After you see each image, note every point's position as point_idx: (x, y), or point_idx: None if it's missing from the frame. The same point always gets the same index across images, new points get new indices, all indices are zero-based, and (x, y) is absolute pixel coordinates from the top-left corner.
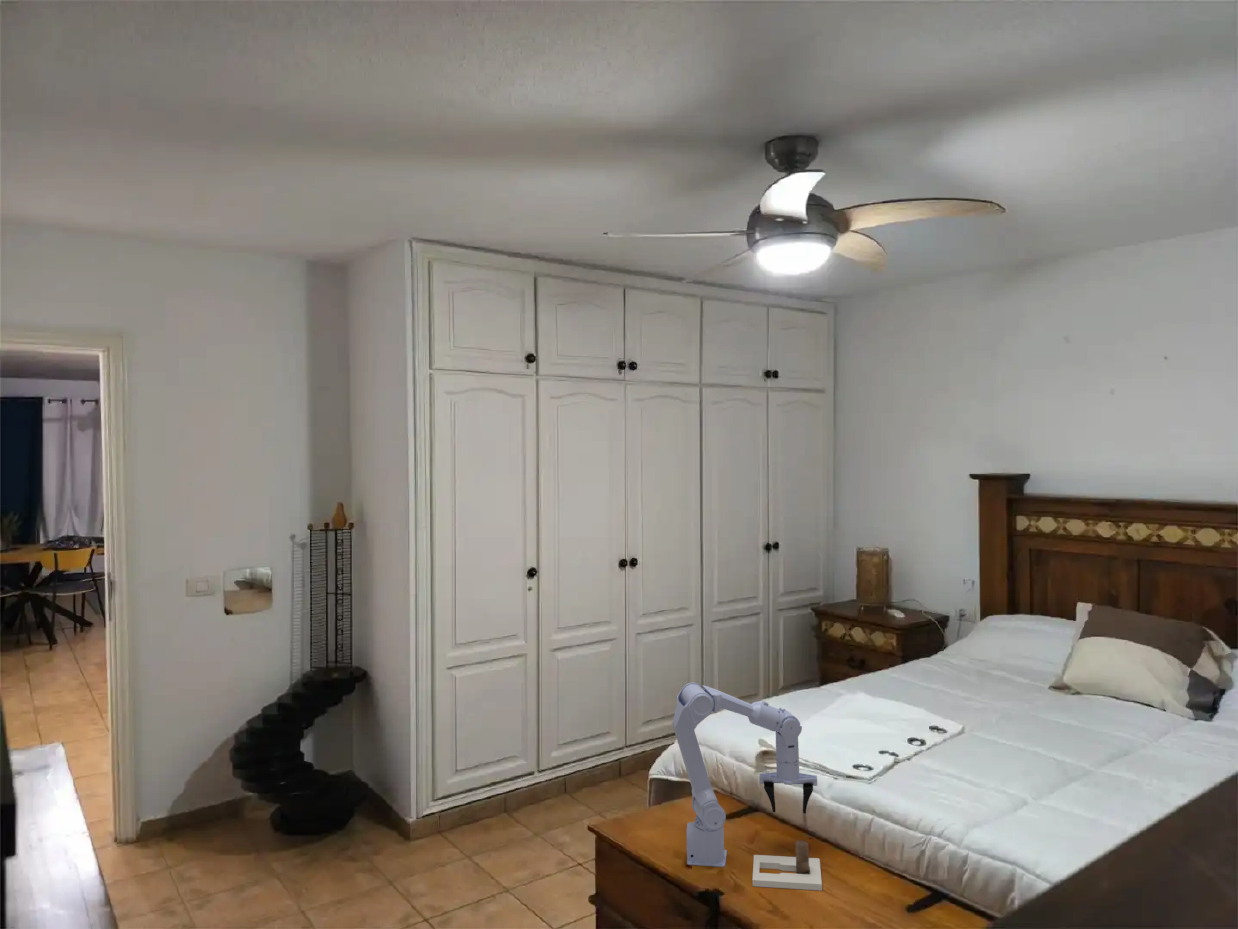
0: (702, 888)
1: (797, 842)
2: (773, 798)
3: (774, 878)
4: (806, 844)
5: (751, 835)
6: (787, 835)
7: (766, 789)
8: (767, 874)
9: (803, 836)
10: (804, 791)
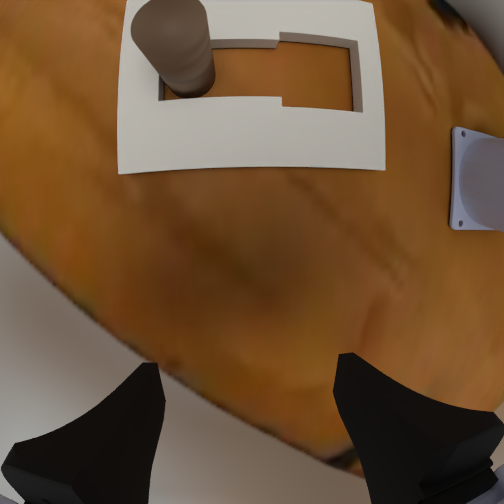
0: (473, 34)
1: (193, 25)
2: (392, 401)
3: (299, 4)
4: (141, 17)
5: (369, 347)
6: (252, 370)
7: (496, 419)
8: (327, 27)
9: (197, 370)
10: (71, 467)
